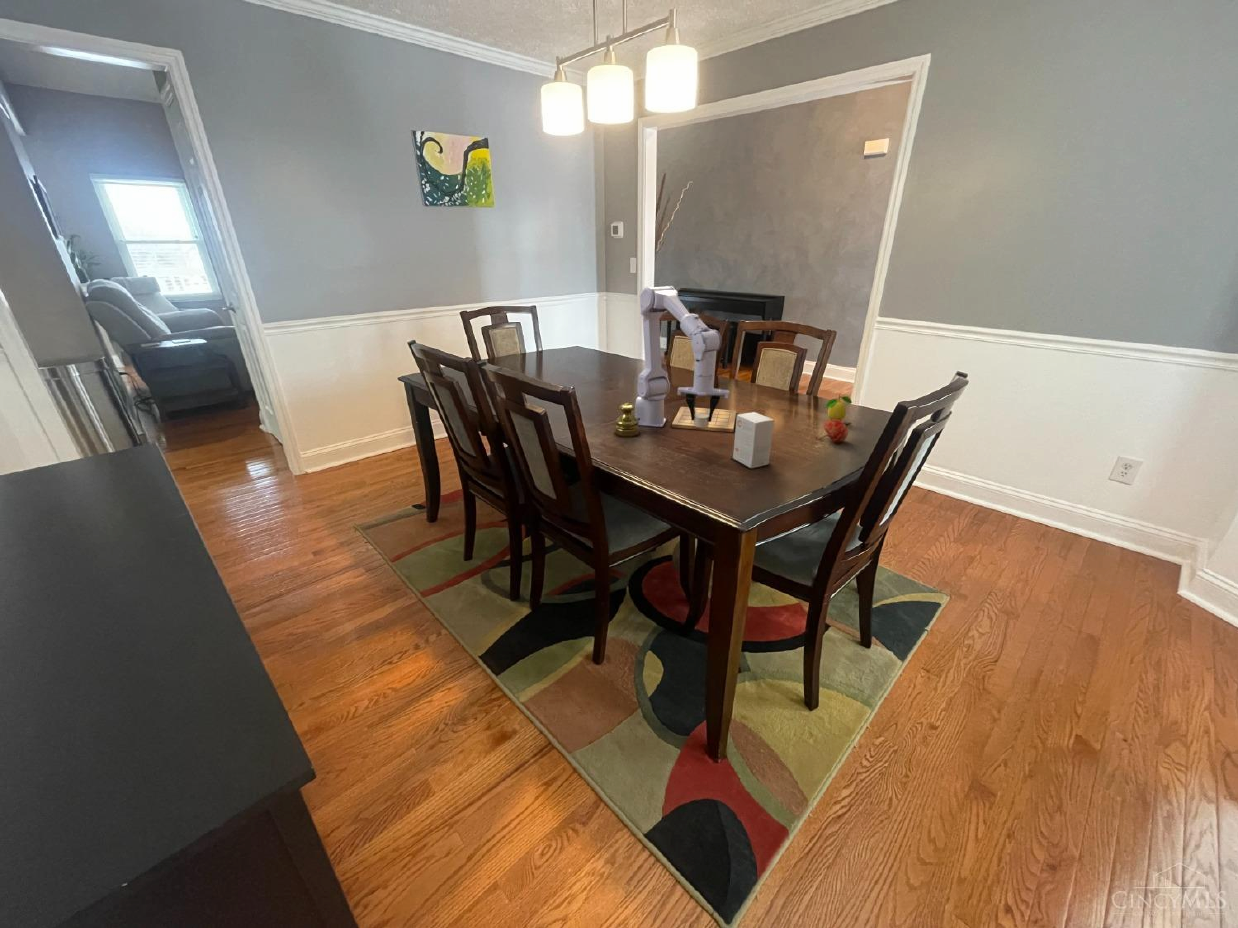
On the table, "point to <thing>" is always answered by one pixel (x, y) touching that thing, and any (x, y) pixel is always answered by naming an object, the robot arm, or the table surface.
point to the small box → (753, 439)
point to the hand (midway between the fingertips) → (701, 420)
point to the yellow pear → (837, 408)
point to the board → (719, 422)
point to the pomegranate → (836, 430)
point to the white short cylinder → (701, 420)
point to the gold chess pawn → (627, 421)
